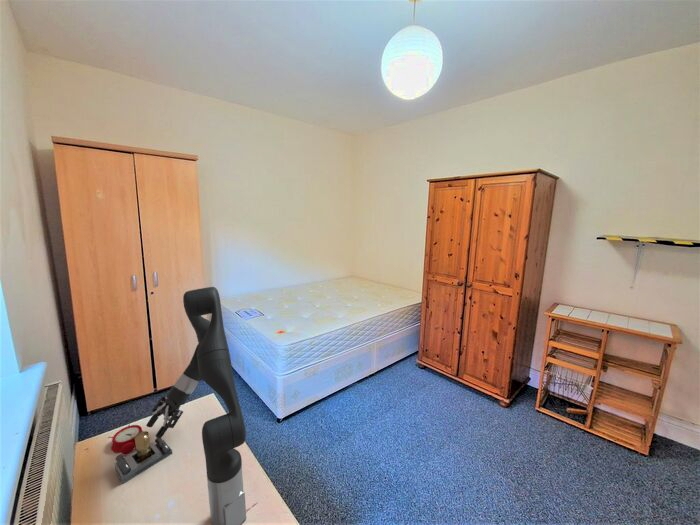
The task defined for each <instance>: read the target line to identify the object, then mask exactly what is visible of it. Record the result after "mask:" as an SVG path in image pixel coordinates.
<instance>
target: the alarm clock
mask: <svg viewBox="0 0 700 525" xmlns="http://www.w3.org/2000/svg"><path fill="white" fill-rule="evenodd" d="M140 432H143V428H142V426H141V425H139V424H133V425H130V424H128V426H126V427H123V428H121V429H119V430H118V431H116V433H114V434H113V436H108V439H110V438H111V442H112V444H111V447H110V448H111V449H110V450H111V451H112V452H113V453H115V454H122V455H123V456H125V455H126V456H127V455H130V454H132V453H133V451H136V444H135V436H136V435H137V434H139V433H140Z"/></svg>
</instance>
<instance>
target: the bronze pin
mask: <svg viewBox="0 0 700 525" xmlns="http://www.w3.org/2000/svg"><path fill="white" fill-rule="evenodd" d="M150 443H151V441H150V433H149V431H148V430H144V431H143V430H142V432H140V433H139V434H137V435H136V436H135V444H136V447H135V449H136V450H135V452H136V451H137V457H138V460H137V464H139V463H141V462H142V461H144V460H146V459H147V458H149V457H151V456H152V454H151V447H150Z"/></svg>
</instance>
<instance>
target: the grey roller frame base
mask: <svg viewBox="0 0 700 525" xmlns="http://www.w3.org/2000/svg"><path fill="white" fill-rule="evenodd" d="M154 443H155V444H154ZM154 443H153V442H150V447H151V455H152V456H151V457H149V458H147V459H146V460H144V461H142V462H141V463H139V464H138V457H137V451H136V450H135V451H134V452H131V453H129V454H128V455H126V456H124V455H123V454H122V453H119V454H118V455H117V456H116V457H115V461H116V462H115V463H113V465H114V471H115V473H116V475H117V476H118V479H119V480H120V482H121V484H125V483H126V482H128V481H130V480H131V479H133V478H135V477H136V476H138V475H140V474H141V473H143V472H145V471H146V470H148V469H150V468H151V467H153V466H154V465H156V464H158V463H159V462H161V461H163V460H164V459H166V458H168V457H169V456H171V455H172V454H173V449H172V448H171V447H170V445H169V444H167V442H166V441H165V440H164V439H162V437H161V438H155V441H154Z"/></svg>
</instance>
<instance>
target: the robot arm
mask: <svg viewBox="0 0 700 525" xmlns="http://www.w3.org/2000/svg"><path fill="white" fill-rule="evenodd" d="M182 299H183V300H182V302H183V308H184V312H185V314H186V316H187V319H188V320H189V322H190V324H191V326H192V328H193V329H194V332H195V334H196V338H197V343H198V344H197V345H196V347H195V350H194V353H193V354H192V358H191V360H190V362H189V364H188V365H187V367H186V368H185V370H183V372H182V373H181V375H180V376H179V377H178V379H177V380H176V381H175V382H174V384H173V385H172V387H171V388H170V389H169V391H168V393H167V394H166V395H165V396H164V395H162V397H160V399H159V400H158V401H157V402H156V404H155V405H154V406H153V408H152V410H151V412H152V416H150V419H149V420H148V421H147V423H146V427H147V428H152V427H153V426H154V425H155V424H156V422H157V420H158V419H159V417H161V416H162V415H163V422H162V423H163V424H162V425H161V427H160V428H159V430H157V432H156V434H155V437H156V438H162V437H163V436H164V435H165V434H166V432H167V430H169V429H174V427H175V426H176V424H177V423H178V422H179V420H180V418H181V417H182V415H183V414H184V411H183V410H181V409H180V407H181V406H183V405H185V404H186V403H187V401H188V400H189V398H190V397H191V395H192V393H193V392H194V391H195V389H196V388H197V386H198V384H199V382H200V381H201V380H203V382H205V383H206V385H208V386H209V387H210V389H212V390H213V391H214V392H215V393H216V394H217V395H218V396H219V398H220V399H222V400H223V403H224V404H225V405H226V408H227V410H228V413H226V414H222V415H219V416H217V417H213V418H212V419H209V420H207V421H205V422H204V424H203V425H202V428H201V440H202V445H203V451H204V458H205V466H206V467H205V468H206V481H207V491H208V502H209V510H210V511H209V512H210V513H209V514H210V522H211V525H239V524H240V525H242V524H243V523H244V522H245V521H246V520H247V507H246V493H245V491H244V480H243V479H244V478H243V465H242V463H243V461H242V459H243V458H242V455H241V452H240V451H239V450H238V449H237V448H238V447H241V446H242V445H244V443H245V442H246V440H247V439H246V438H247V433H246V425H245V420H244V416H243V413H242V409H241V404H240V401H239V397H238V394H237V393H238V392H237V388H236V384H235V378H234V373H233V366H232V365H233V364H232V359H231V355H230V350H229V345H228V342H227V336H226V333H225V332H226V331H225V326H224V320H223V312H222V304H221V298H220V294H219V291H218V289H217V287H215V286H209V287H208V286H207V287H202V288H196V289H190V290H187V291H185V293H184V294H183V297H182ZM210 314H211V320H208V319H207V318H205V317H204V316H205V315H210ZM156 438H155V439H156ZM245 519H246V520H245ZM244 520H245V521H244ZM243 521H244V522H243ZM242 522H243V523H242Z"/></svg>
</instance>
